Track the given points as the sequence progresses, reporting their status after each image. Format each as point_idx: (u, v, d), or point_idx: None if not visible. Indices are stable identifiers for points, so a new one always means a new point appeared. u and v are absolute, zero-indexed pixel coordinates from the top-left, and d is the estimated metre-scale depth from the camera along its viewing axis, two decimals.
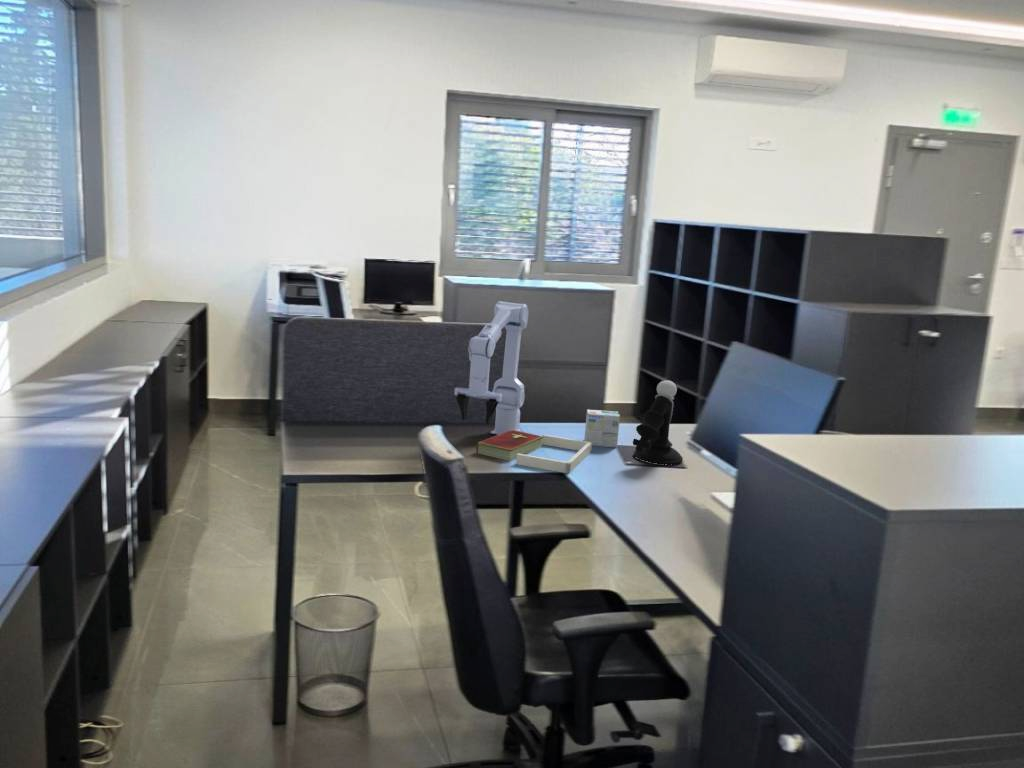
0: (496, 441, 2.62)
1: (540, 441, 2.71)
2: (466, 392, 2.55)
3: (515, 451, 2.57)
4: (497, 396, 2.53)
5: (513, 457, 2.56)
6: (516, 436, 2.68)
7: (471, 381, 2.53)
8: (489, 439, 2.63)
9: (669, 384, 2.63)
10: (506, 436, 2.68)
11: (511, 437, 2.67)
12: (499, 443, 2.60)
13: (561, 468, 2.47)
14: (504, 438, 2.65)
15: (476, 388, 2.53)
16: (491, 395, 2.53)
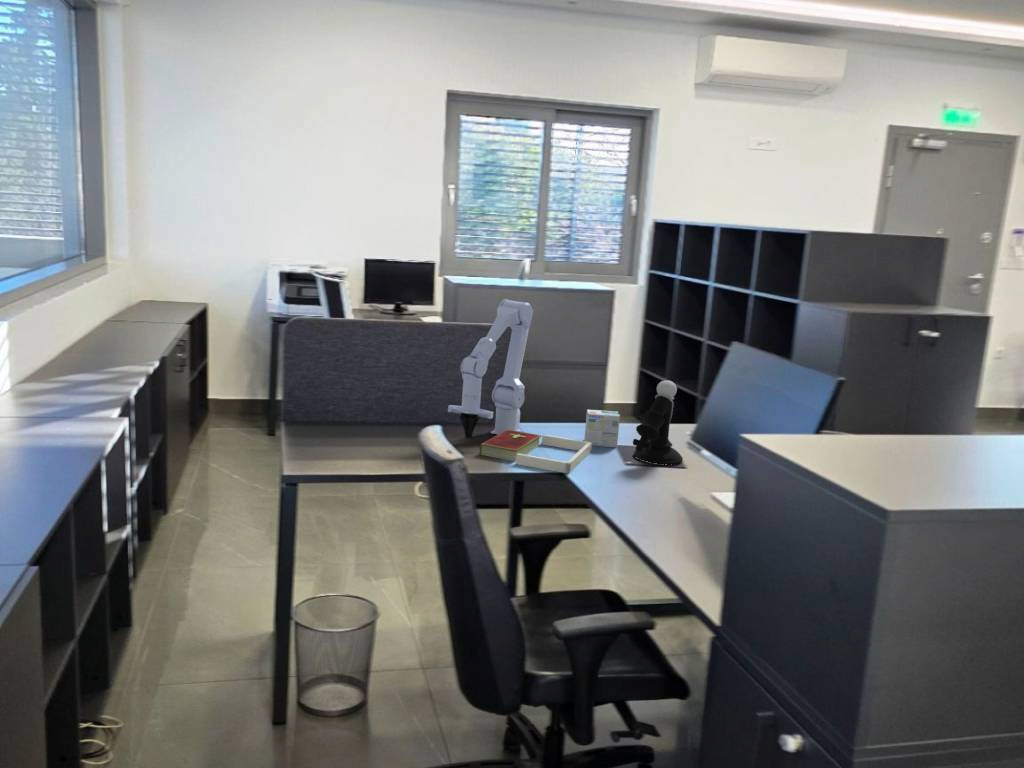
0: (499, 442, 2.61)
1: (538, 440, 2.72)
2: (459, 409, 2.67)
3: (519, 451, 2.57)
4: (488, 413, 2.65)
5: None
6: (515, 436, 2.68)
7: (464, 399, 2.66)
8: (491, 440, 2.62)
9: (669, 384, 2.63)
10: (505, 436, 2.68)
11: (511, 437, 2.67)
12: (502, 443, 2.59)
13: (561, 468, 2.47)
14: (505, 439, 2.65)
15: (468, 406, 2.65)
16: (483, 413, 2.65)
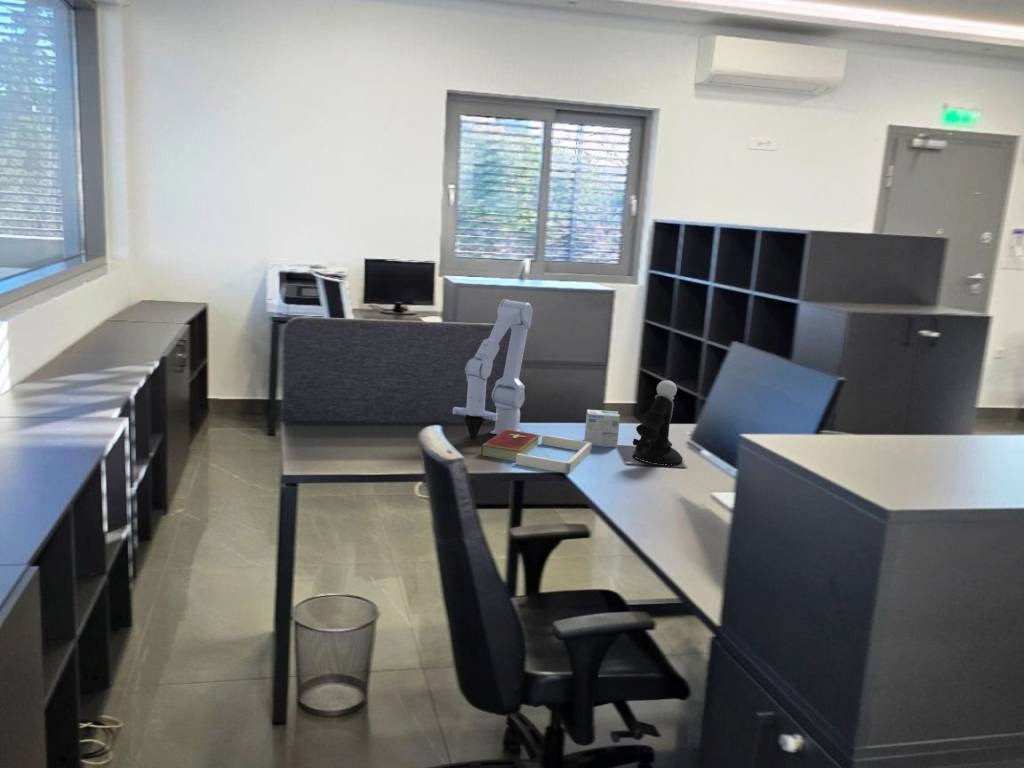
0: (500, 442, 2.61)
1: (537, 440, 2.72)
2: (463, 411, 2.67)
3: (521, 452, 2.57)
4: (493, 415, 2.65)
5: None
6: (515, 436, 2.68)
7: (468, 401, 2.65)
8: (491, 440, 2.62)
9: (669, 384, 2.63)
10: (505, 436, 2.68)
11: (511, 437, 2.67)
12: (504, 444, 2.59)
13: (561, 468, 2.47)
14: (505, 439, 2.65)
15: (473, 408, 2.65)
16: (487, 415, 2.65)
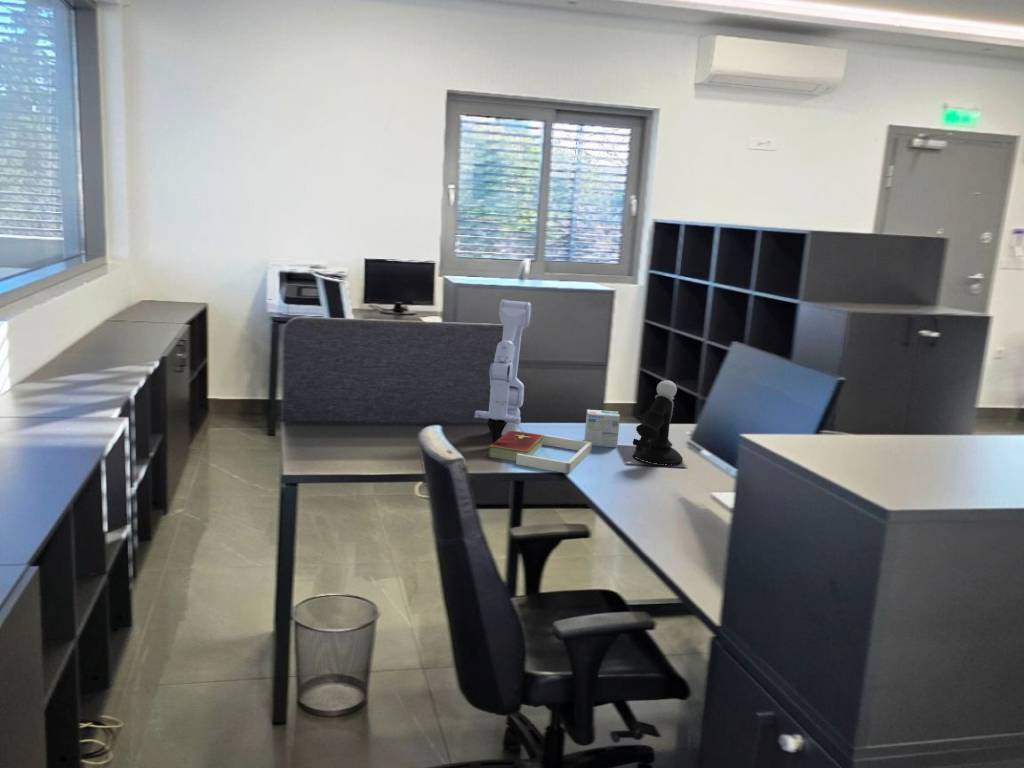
0: (506, 443, 2.60)
1: (542, 440, 2.72)
2: (486, 415, 2.64)
3: (528, 452, 2.57)
4: (516, 419, 2.62)
5: None
6: (520, 437, 2.68)
7: (491, 405, 2.63)
8: (498, 442, 2.61)
9: (669, 384, 2.63)
10: (510, 437, 2.67)
11: (516, 438, 2.67)
12: (511, 445, 2.59)
13: (561, 468, 2.47)
14: (511, 440, 2.64)
15: (496, 411, 2.62)
16: (510, 418, 2.62)
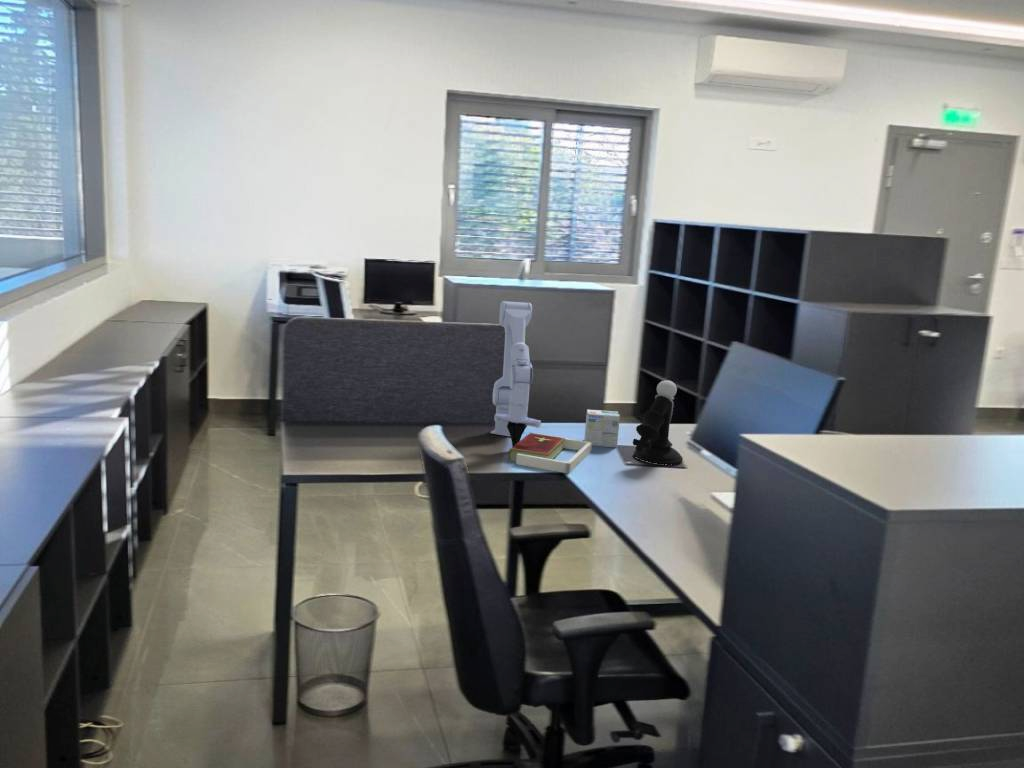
0: (527, 446, 2.59)
1: (562, 443, 2.70)
2: (506, 418, 2.62)
3: (549, 455, 2.55)
4: (536, 422, 2.60)
5: None
6: (541, 439, 2.66)
7: (511, 408, 2.61)
8: (518, 444, 2.59)
9: (669, 384, 2.63)
10: (531, 440, 2.65)
11: (536, 441, 2.65)
12: (531, 448, 2.57)
13: (561, 468, 2.47)
14: (531, 443, 2.62)
15: (516, 415, 2.60)
16: (530, 421, 2.60)
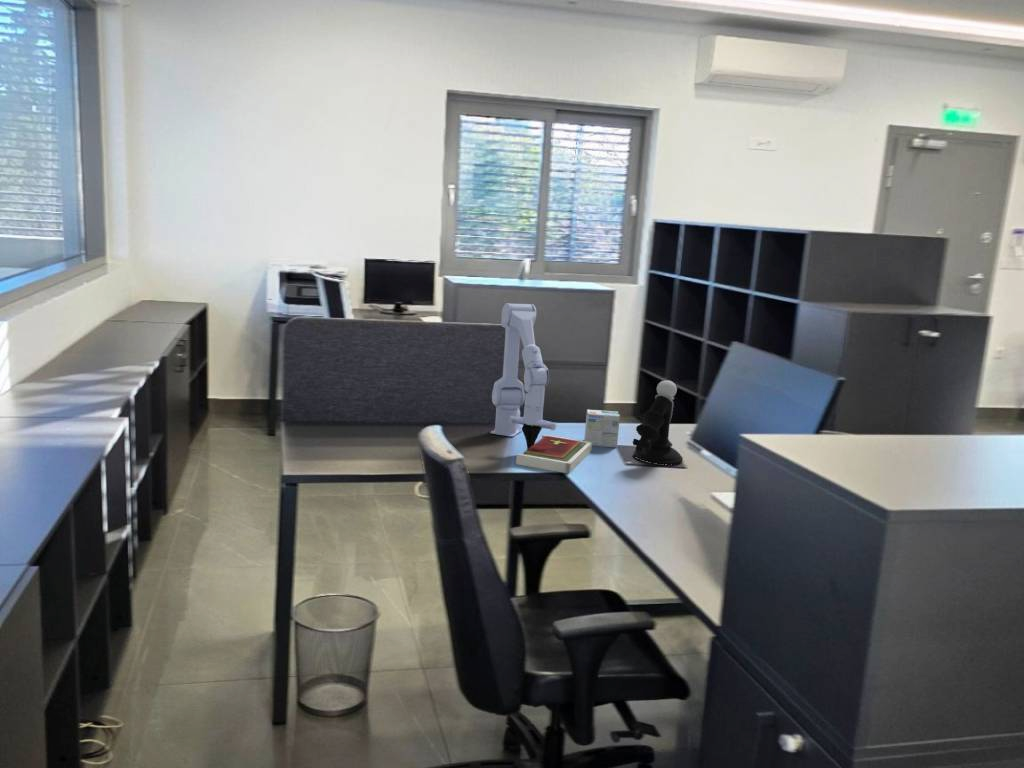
0: (541, 449, 2.57)
1: (578, 446, 2.69)
2: (521, 421, 2.61)
3: (563, 459, 2.53)
4: (552, 425, 2.59)
5: None
6: (556, 442, 2.64)
7: (526, 410, 2.59)
8: (533, 447, 2.58)
9: (669, 384, 2.63)
10: (546, 443, 2.64)
11: (552, 444, 2.64)
12: (546, 451, 2.56)
13: (561, 468, 2.47)
14: (547, 445, 2.61)
15: (531, 417, 2.59)
16: (546, 424, 2.59)
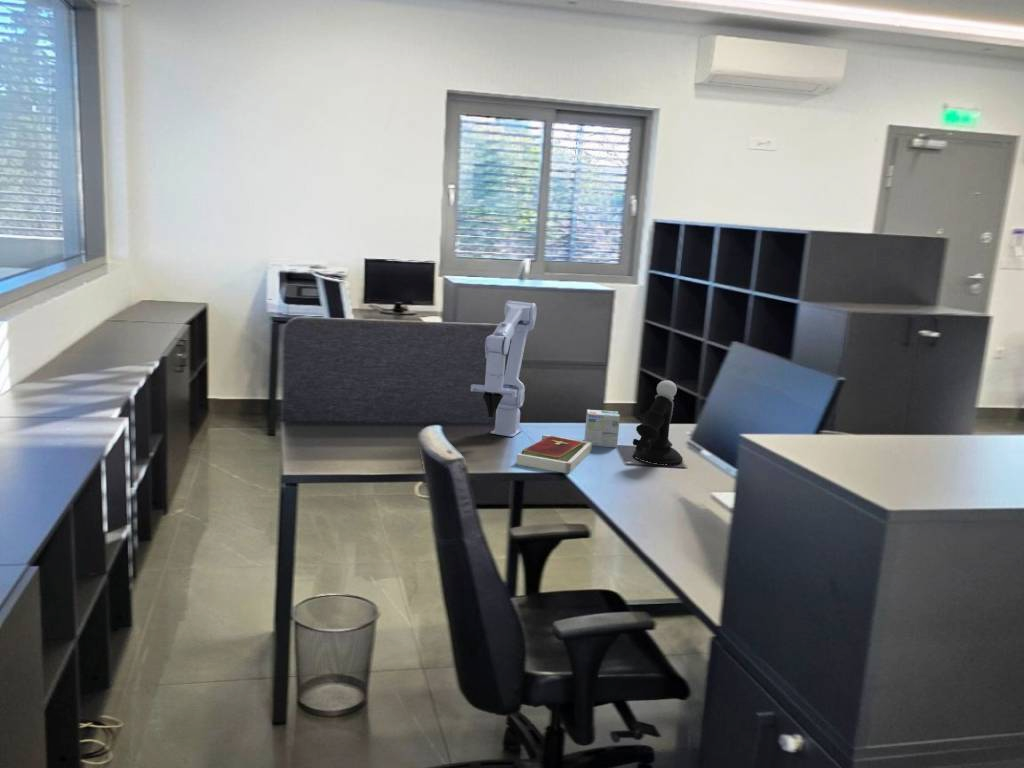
0: (540, 448, 2.58)
1: (581, 447, 2.68)
2: (482, 388, 2.64)
3: (561, 459, 2.53)
4: (512, 392, 2.63)
5: None
6: (558, 443, 2.64)
7: (487, 378, 2.63)
8: (532, 446, 2.59)
9: (669, 384, 2.63)
10: (548, 443, 2.64)
11: (553, 444, 2.63)
12: (544, 450, 2.56)
13: (561, 468, 2.47)
14: (547, 445, 2.61)
15: (492, 385, 2.62)
16: (506, 391, 2.63)
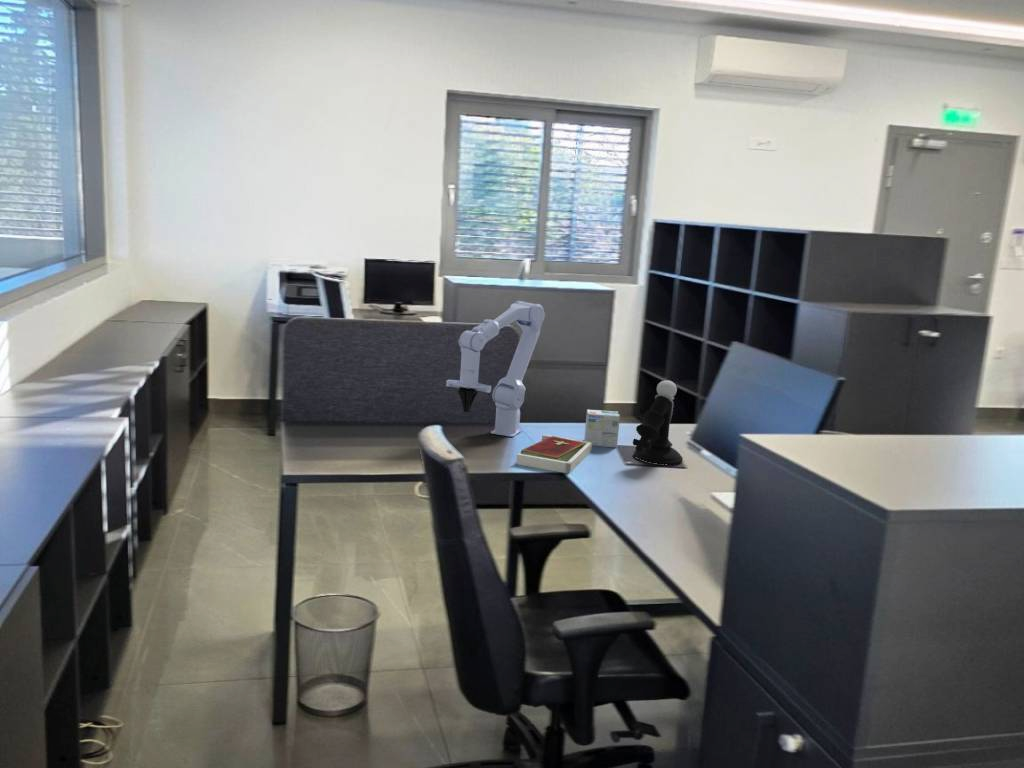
0: (540, 448, 2.58)
1: None
2: (457, 384, 2.68)
3: (560, 459, 2.53)
4: (486, 387, 2.66)
5: None
6: (559, 443, 2.64)
7: (462, 373, 2.67)
8: (532, 446, 2.59)
9: (669, 384, 2.63)
10: (548, 443, 2.64)
11: (554, 444, 2.63)
12: (544, 450, 2.56)
13: (561, 468, 2.47)
14: (547, 445, 2.61)
15: (466, 380, 2.66)
16: (481, 386, 2.66)
